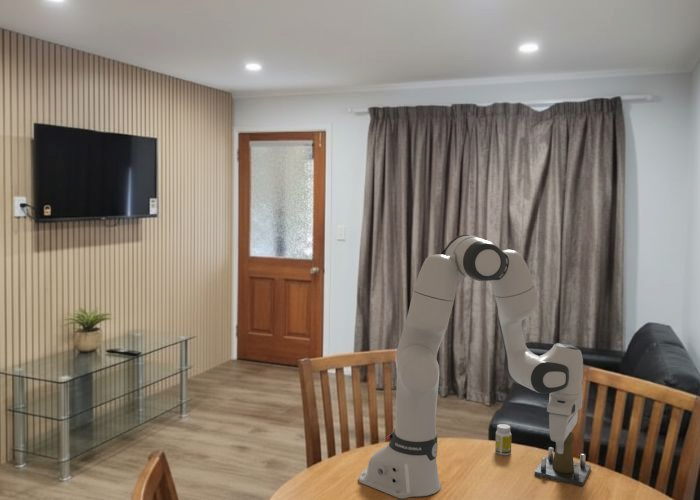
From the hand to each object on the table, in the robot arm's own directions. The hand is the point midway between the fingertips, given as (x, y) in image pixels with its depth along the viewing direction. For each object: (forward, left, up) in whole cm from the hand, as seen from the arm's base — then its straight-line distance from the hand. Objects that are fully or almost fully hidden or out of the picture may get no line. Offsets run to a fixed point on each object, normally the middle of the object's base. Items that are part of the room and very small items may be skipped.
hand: (563, 447), depth 177 cm
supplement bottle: (-19, +5, -8) cm, 21 cm away
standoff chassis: (0, 0, -7) cm, 7 cm away
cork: (0, 0, -6) cm, 6 cm away
